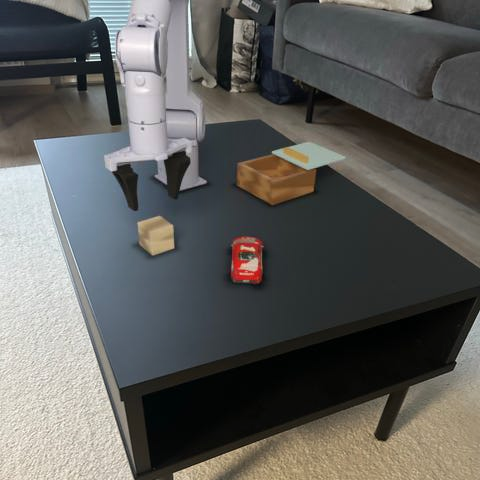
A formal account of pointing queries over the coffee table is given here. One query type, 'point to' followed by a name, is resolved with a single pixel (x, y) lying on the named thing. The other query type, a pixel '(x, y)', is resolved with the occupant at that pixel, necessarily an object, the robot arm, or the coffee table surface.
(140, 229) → the block
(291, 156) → the lid with orange handle
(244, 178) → the case
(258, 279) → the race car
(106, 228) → the coffee table surface
